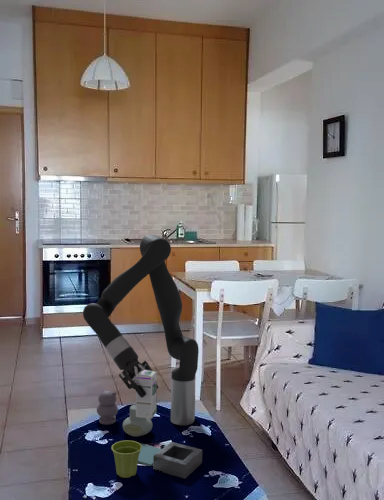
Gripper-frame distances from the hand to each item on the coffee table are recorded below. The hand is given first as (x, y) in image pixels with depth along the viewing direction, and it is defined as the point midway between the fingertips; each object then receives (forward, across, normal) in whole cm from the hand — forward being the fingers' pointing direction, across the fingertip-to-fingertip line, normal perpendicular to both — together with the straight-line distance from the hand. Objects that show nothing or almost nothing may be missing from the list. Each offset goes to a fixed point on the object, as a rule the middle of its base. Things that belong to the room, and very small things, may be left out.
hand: (150, 392), depth 179 cm
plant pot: (+16, -13, +16) cm, 26 cm away
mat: (+15, 0, +16) cm, 22 cm away
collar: (+24, -1, +7) cm, 25 cm away
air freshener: (+6, +13, +25) cm, 29 cm away
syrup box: (+5, 0, +7) cm, 8 cm away
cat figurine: (-5, +16, +36) cm, 40 cm away
